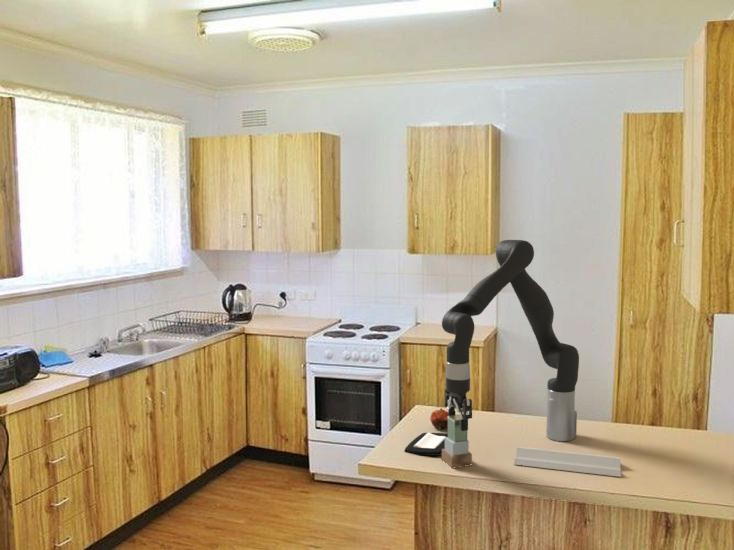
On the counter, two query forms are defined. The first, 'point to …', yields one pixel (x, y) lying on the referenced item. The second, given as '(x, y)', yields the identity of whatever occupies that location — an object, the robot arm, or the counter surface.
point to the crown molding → (568, 461)
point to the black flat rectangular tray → (427, 444)
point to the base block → (456, 459)
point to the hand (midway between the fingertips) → (457, 426)
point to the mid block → (456, 447)
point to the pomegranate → (439, 418)
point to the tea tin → (456, 429)
